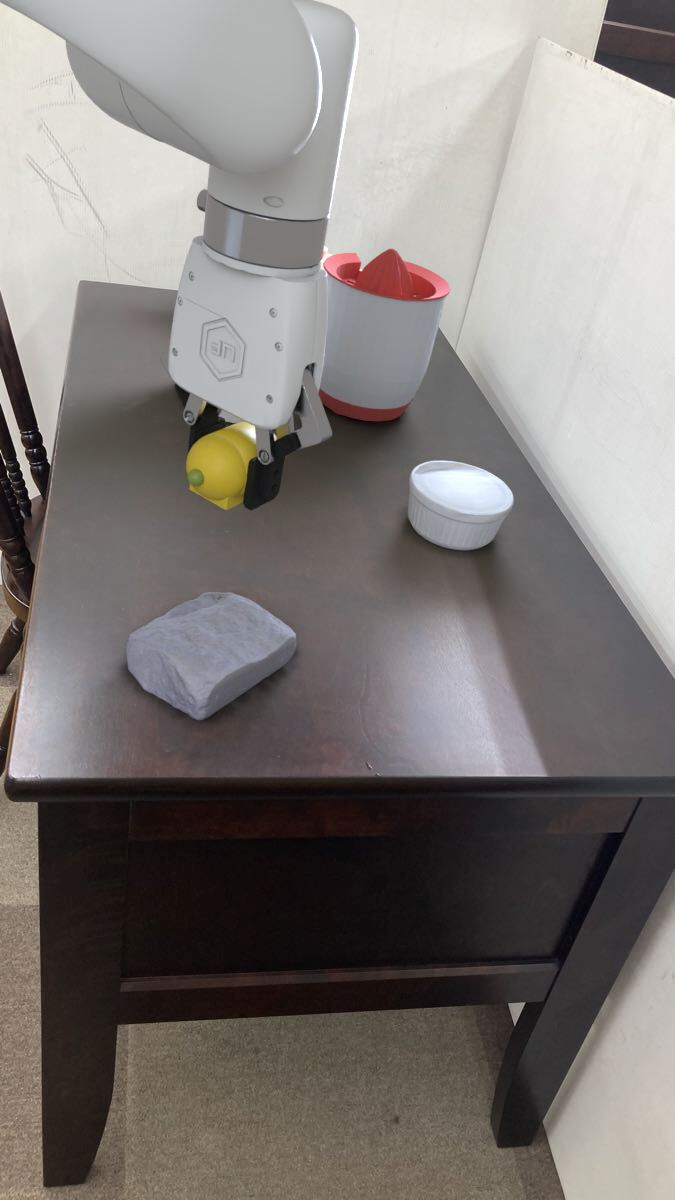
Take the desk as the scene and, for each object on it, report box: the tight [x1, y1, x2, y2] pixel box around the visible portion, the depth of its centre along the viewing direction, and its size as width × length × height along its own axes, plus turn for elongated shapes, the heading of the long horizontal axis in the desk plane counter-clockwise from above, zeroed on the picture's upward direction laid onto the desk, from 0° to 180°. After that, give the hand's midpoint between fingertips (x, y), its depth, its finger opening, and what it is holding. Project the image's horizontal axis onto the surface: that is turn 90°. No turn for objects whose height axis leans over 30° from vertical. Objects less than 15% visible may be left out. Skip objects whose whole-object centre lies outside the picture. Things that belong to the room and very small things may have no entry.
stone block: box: [125, 591, 297, 721], centre depth 71 cm, size 12×5×10 cm
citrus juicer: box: [318, 247, 451, 422], centre depth 112 cm, size 16×17×20 cm
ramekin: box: [407, 460, 515, 551], centre depth 95 cm, size 11×11×5 cm
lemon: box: [185, 421, 277, 511], centre depth 65 cm, size 10×5×5 cm, turn 144°
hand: (231, 484), depth 66 cm, fingers closed on lemon, 4 cm apart
